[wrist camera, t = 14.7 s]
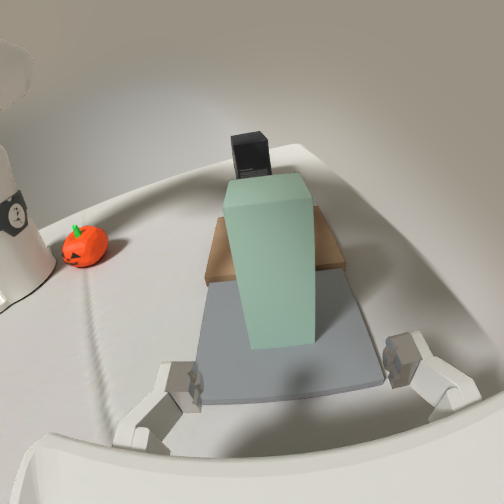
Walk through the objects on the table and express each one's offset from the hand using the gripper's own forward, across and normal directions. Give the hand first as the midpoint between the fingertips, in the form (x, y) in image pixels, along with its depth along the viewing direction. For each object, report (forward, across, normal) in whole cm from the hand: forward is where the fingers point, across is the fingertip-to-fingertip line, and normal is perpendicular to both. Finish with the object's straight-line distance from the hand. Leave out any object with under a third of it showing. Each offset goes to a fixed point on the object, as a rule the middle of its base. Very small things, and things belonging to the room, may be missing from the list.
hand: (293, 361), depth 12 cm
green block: (+10, 0, +8) cm, 13 cm away
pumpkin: (+27, +28, +9) cm, 40 cm away
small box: (+47, +2, +9) cm, 48 cm away
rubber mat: (+10, 0, +9) cm, 13 cm away
